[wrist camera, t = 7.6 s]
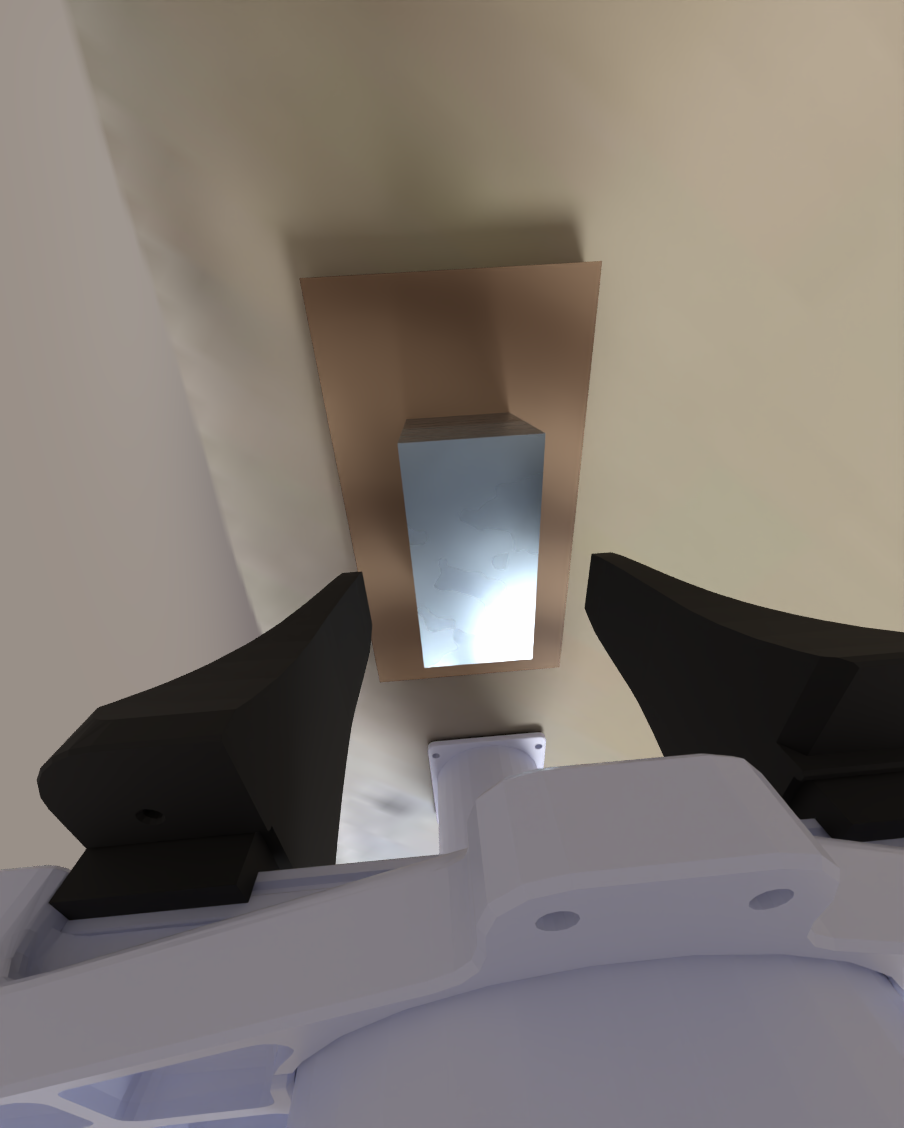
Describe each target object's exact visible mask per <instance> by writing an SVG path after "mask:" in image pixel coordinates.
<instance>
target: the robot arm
mask: <svg viewBox="0 0 904 1128" xmlns="http://www.w3.org/2000/svg"><path fill="white" fill-rule="evenodd" d="M585 610H586V613H587V615H588V618H589V620H590V622H591V625H592V627H593V629H594V631H595V633H596V635H597V637H598V638H599V640H600V642H601V643H602V645H603V647H604V648H605V650H606V651H607V653H608V655H609V656H610V658H611V659H612V661H613V662H614V664H615V666H616V667H617V669H618V670H619V672H620V673H621V675H622V677H623V678H624V680H625V681H626V683H627V684H628V686H629V688H630V689H631V691H632V693H633V694H634V696H635V698H636V700H637V701H638V703H639V705H640V707H641V709H642V711H643V713H644V715H645V717H646V719H647V721H648V723H649V725H650V727H651V729H652V731H653V734H654V736H655V738H656V740H657V742H658V745H659V747H660V749H661V751H662V753H663V756H664V757H658V758H647V759H636V760H625V761H614V762H603V763H592V764H581V765H570V766H559V767H549V768H544V757H545V747H546V738H545V735H544V734H543V733H541V732H535V733H524V734H512V735H501V736H490V737H479V738H468V739H456V740H445V741H434V742H431V743H430V744H429V745H428V756H429V764H430V771H431V779H432V786H433V794H434V801H435V809H436V817H437V822H438V824H439V855H430V856H420V857H409V858H399V859H389V860H378V861H368V862H358V863H347V864H337V865H335V863H336V852H337V840H338V831H339V821H340V812H341V802H342V793H343V785H344V777H345V769H346V761H347V754H348V747H349V740H350V733H351V727H352V722H353V717H354V712H355V709H356V705H357V701H358V697H359V693H360V689H361V685H362V681H363V677H364V673H365V669H366V665H367V661H368V657H369V653H370V645H371V635H372V620H371V615H370V610H369V604H368V599H367V594H366V589H365V583H364V578H363V573H362V572H350V573H342V574H341V575H339V576H338V577H336V578H335V579H334V580H333V581H332V582H330V583H329V584H328V585H327V586H326V587H325V588H323V589H322V590H321V591H320V592H319V593H318V594H316V595H315V596H314V597H313V598H312V599H310V600H309V601H308V602H307V603H306V604H304V605H303V606H302V607H300V608H299V609H298V610H296V611H295V612H294V613H293V614H291V615H290V616H289V617H287V618H286V619H285V620H283V621H282V622H281V623H279V624H278V625H276V626H275V627H273V628H272V629H270V630H269V631H267V632H266V633H264V634H262V635H261V636H259V637H258V638H256V639H255V640H253V641H251V642H249V643H248V644H246V645H244V646H242V647H240V648H239V649H237V650H235V651H233V652H231V653H229V654H227V655H225V656H223V657H221V658H220V659H218V660H216V661H214V662H212V663H210V664H208V665H206V666H204V667H201V668H199V669H197V670H195V671H193V672H190V673H188V674H186V675H184V676H181V677H179V678H176V679H174V680H172V681H169V682H167V683H164V684H162V685H159V686H157V687H154V688H152V689H149V690H146V691H143V692H141V693H138V694H135V695H132V696H130V697H127V698H124V699H121V700H119V701H116V702H113V703H110V704H107V705H104V706H101V707H99V708H97V709H96V710H95V711H94V712H93V713H92V714H91V715H90V717H89V718H88V719H87V720H86V721H85V722H84V723H83V724H82V725H81V726H80V727H79V728H78V729H77V730H76V731H75V732H74V733H73V734H72V735H71V736H70V738H69V739H68V740H67V741H66V742H65V743H64V744H63V745H62V746H61V747H60V748H59V749H58V750H57V751H56V752H55V753H54V754H53V755H52V757H51V758H50V759H49V760H48V761H47V762H46V763H45V764H44V765H43V766H42V767H41V768H40V771H39V775H38V778H37V784H38V788H39V793H40V797H41V799H42V800H43V802H44V803H45V804H46V806H47V807H48V809H49V810H50V811H51V812H52V813H53V814H54V815H55V816H56V817H57V818H58V819H59V821H60V822H61V823H62V824H63V825H64V826H65V827H66V828H67V829H68V830H69V831H70V832H71V833H72V834H73V835H74V836H75V837H76V838H77V839H78V840H79V841H80V842H81V843H82V844H83V846H84V847H86V848H87V849H86V850H85V852H84V853H83V855H82V856H81V857H80V859H79V860H78V862H77V863H76V865H75V866H74V867H73V869H72V870H69V869H67V868H64V867H60V866H51V865H44V866H33V867H23V868H13V869H3V870H0V1128H904V632H896V631H889V630H881V629H873V628H865V627H859V626H853V625H847V624H841V623H835V622H830V621H824V620H819V619H814V618H809V617H804V616H799V615H794V614H790V613H786V612H781V611H777V610H773V609H769V608H765V607H761V606H757V605H753V604H750V603H746V602H743V601H739V600H736V599H733V598H730V597H726V596H723V595H720V594H717V593H714V592H711V591H708V590H705V589H703V588H700V587H697V586H695V585H692V584H689V583H686V582H684V581H681V580H679V579H676V578H674V577H672V576H669V575H667V574H664V573H662V572H660V571H657V570H655V569H653V568H650V567H648V566H646V565H643V564H641V563H639V562H636V561H634V560H631V559H629V558H626V557H624V556H621V555H618V554H615V553H611V552H610V553H597V554H592V555H591V563H590V571H589V578H588V586H587V594H586V601H585Z"/></svg>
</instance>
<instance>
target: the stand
mask: <svg viewBox="0 0 904 1128" xmlns="http://www.w3.org/2000/svg"><path fill="white" fill-rule="evenodd" d="M601 266H602V261H596V262H578V263H560V264H543V265H525V266H507V267H490V268H472V269H454V270H436V271H419V272H401V273H383V274H366V275H348V276H330V277H313V278H300V283H301V288H302V293H303V299H304V304H305V309H306V314H307V319H308V324H309V329H310V334H311V339H312V344H313V349H314V354H315V359H316V364H317V369H318V374H319V379H320V384H321V389H322V394H323V399H324V404H325V409H326V414H327V419H328V424H329V429H330V434H331V439H332V444H333V449H334V454H335V459H336V464H337V469H338V474H339V479H340V484H341V489H342V494H343V499H344V504H345V509H346V514H347V519H348V524H349V529H350V534H351V539H352V544H353V549H354V554H355V559H356V564H357V569H358V572H362V573H363V578H364V583H365V589H366V594H367V599H368V604H369V610H370V615H371V620H372V635H371V640H372V645H373V650H374V655H375V660H376V665H377V670H378V675H379V680H380V682H390V681H401V680H413V679H425V678H437V677H449V676H460V675H472V674H484V673H496V672H507V671H519V670H531V669H543V668H555V667H559V665H560V655H561V646H562V636H563V627H564V617H565V608H566V598H567V589H568V579H569V570H570V560H571V551H572V542H573V532H574V523H575V513H576V504H577V494H578V485H579V475H580V466H581V456H582V447H583V437H584V428H585V418H586V409H587V399H588V390H589V380H590V371H591V361H592V352H593V342H594V333H595V323H596V314H597V304H598V295H599V285H600V276H601ZM508 412H510V413H511V414H513V415H515V416H517V417H518V418H520V419H522V420H524V421H525V422H527V423H529V424H530V425H532V426H534V427H536V428H537V429H539V430H541V431H543V432H544V433H546V435H545V452H544V469H543V485H542V502H541V519H540V536H539V553H538V570H537V587H536V603H535V620H534V637H533V654H532V659H523V660H511V661H499V662H487V663H475V664H463V665H452V666H440V667H428V668H424V660H423V652H422V643H421V635H420V627H419V618H418V610H417V602H416V593H415V585H414V577H413V568H412V560H411V552H410V543H409V535H408V527H407V519H406V510H405V502H404V494H403V485H402V477H401V469H400V460H399V452H398V444H397V443H398V441H399V438H400V435H401V433H402V430H403V427H404V424H405V422H406V419H419V418H434V417H449V416H464V415H478V414H493V413H508Z"/></svg>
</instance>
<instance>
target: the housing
mask: <svg viewBox="0 0 904 1128" xmlns="http://www.w3.org/2000/svg"><path fill="white" fill-rule="evenodd" d="M545 435H546V433H544V432H543V431H541V430H539V429H537V428H536V427H534V426H532V425H530V424H529V423H527V422H525V421H524V420H522V419H520V418H518V417H517V416H515V415H513V414H511V413H510V412H508V413H493V414H478V415H464V416H449V417H434V418H419V419H406V422H405V424H404V427H403V430H402V433H401V435H400V438H399V441H398V443H397V444H398V452H399V460H400V469H401V477H402V485H403V494H404V502H405V510H406V519H407V527H408V535H409V543H410V552H411V560H412V568H413V577H414V585H415V593H416V602H417V610H418V618H419V627H420V635H421V643H422V652H423V660H424V668H428V667H440V666H452V665H463V664H475V663H487V662H499V661H511V660H523V659H532V654H533V637H534V620H535V603H536V587H537V570H538V553H539V536H540V519H541V502H542V485H543V469H544V452H545Z"/></svg>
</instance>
